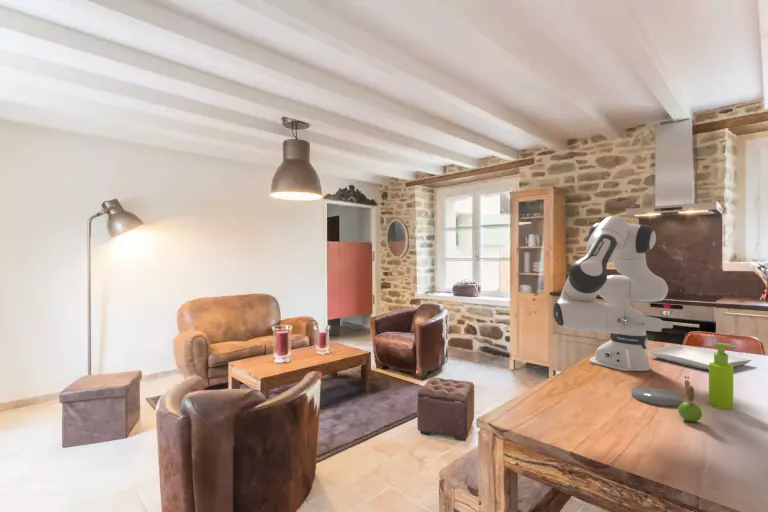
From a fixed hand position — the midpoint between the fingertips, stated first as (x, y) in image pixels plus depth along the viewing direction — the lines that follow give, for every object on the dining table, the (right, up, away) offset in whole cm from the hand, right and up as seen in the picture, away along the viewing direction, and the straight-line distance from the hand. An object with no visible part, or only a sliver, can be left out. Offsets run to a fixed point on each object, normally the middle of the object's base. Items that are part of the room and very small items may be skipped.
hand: (662, 323), depth 116 cm
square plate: (+57, -28, +59) cm, 86 cm away
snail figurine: (+7, -28, -2) cm, 29 cm away
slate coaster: (+9, -28, +15) cm, 33 cm away
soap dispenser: (+25, -28, +8) cm, 38 cm away
